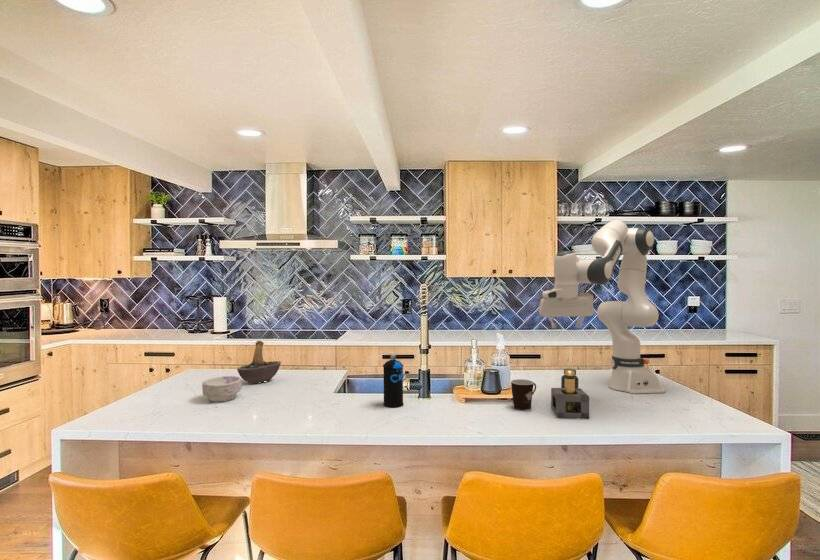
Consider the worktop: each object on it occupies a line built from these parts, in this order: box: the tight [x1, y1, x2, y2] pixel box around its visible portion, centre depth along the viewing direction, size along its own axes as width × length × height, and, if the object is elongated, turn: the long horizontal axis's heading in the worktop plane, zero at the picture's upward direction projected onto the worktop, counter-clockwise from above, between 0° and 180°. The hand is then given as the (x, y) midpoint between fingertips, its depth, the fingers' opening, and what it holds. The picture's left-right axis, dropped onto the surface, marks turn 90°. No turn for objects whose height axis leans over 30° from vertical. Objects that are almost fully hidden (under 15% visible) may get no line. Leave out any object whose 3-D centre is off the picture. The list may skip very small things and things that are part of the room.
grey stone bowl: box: [201, 375, 243, 403], centre depth 188 cm, size 15×15×8 cm
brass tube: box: [563, 370, 575, 411], centre depth 166 cm, size 4×4×16 cm
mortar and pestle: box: [236, 340, 282, 384], centre depth 214 cm, size 15×17×20 cm
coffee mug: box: [510, 378, 537, 411], centre depth 174 cm, size 12×9×10 cm
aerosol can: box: [382, 353, 405, 409], centre depth 178 cm, size 8×8×20 cm
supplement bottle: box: [560, 368, 580, 388], centre depth 185 cm, size 7×7×12 cm
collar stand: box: [550, 387, 590, 420], centre depth 166 cm, size 11×11×8 cm
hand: (566, 327), depth 175 cm, fingers open, 8 cm apart
